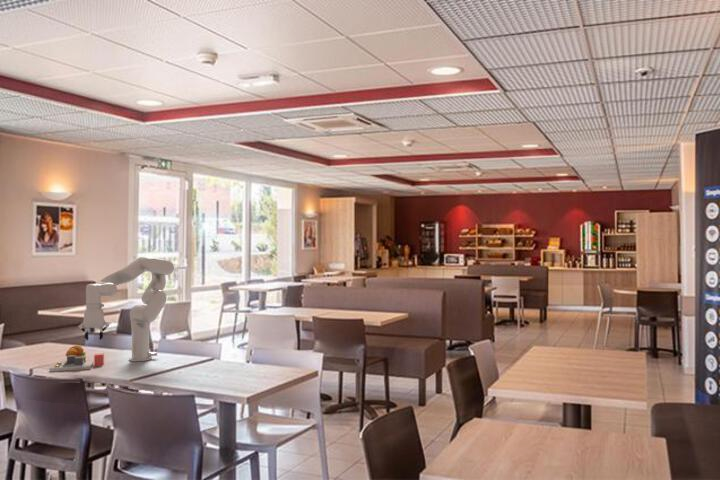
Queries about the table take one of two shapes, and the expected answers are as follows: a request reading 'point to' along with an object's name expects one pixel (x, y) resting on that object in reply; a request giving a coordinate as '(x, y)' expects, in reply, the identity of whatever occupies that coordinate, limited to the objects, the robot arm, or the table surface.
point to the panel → (70, 366)
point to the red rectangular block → (99, 359)
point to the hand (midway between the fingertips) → (94, 339)
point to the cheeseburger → (76, 352)
